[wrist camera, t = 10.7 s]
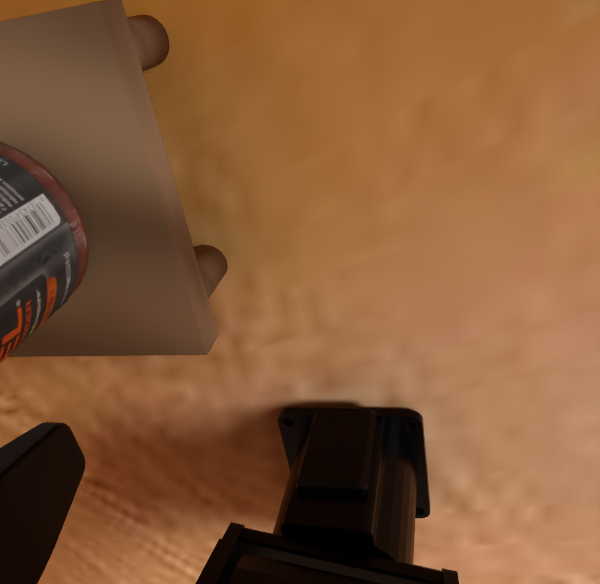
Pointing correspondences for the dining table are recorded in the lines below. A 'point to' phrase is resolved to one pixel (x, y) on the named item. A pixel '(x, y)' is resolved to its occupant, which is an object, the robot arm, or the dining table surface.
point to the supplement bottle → (35, 247)
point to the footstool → (108, 182)
